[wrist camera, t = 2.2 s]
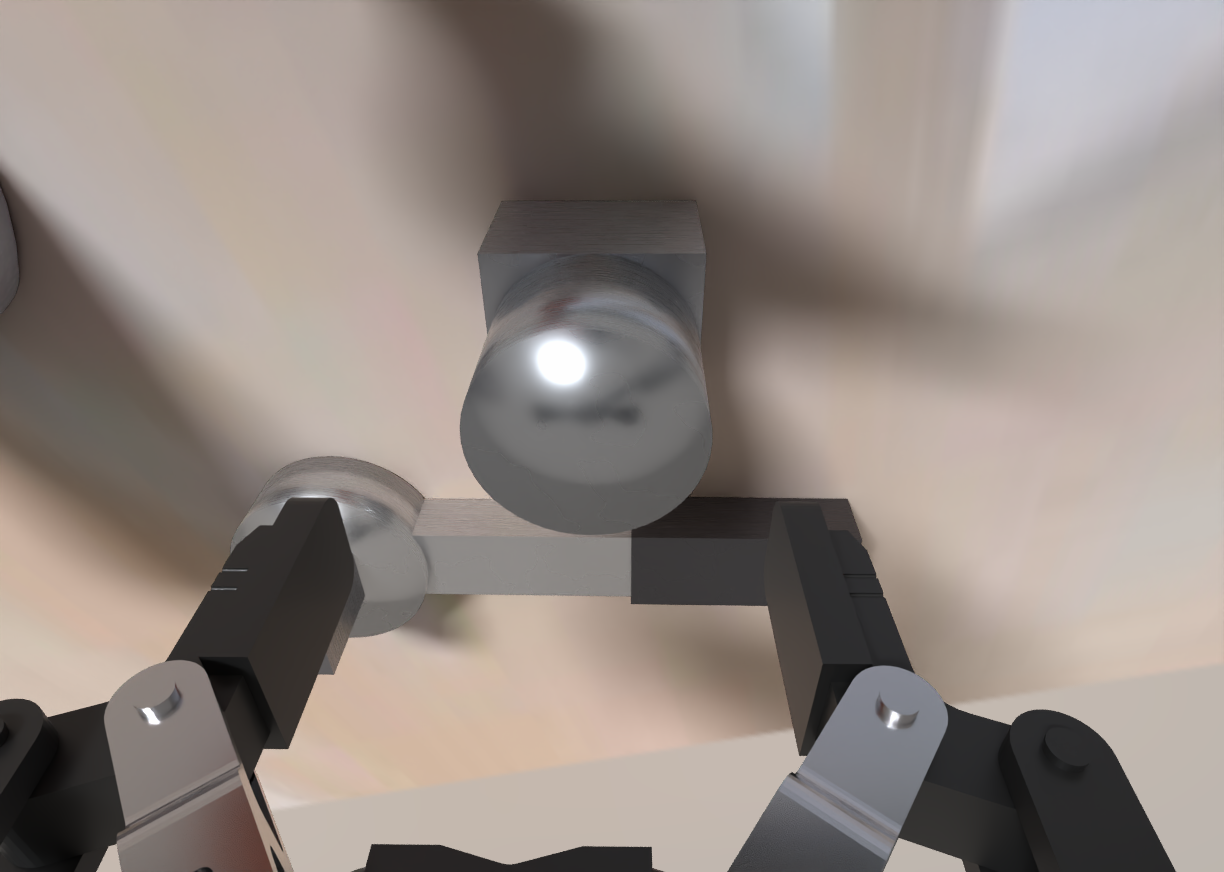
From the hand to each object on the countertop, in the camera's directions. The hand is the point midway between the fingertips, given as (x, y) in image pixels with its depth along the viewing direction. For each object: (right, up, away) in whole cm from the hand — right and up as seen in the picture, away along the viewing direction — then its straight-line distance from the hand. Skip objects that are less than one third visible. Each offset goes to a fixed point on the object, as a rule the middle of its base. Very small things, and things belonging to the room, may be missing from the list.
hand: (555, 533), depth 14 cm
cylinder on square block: (+1, +6, +9) cm, 11 cm away
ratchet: (-1, -2, +15) cm, 15 cm away
